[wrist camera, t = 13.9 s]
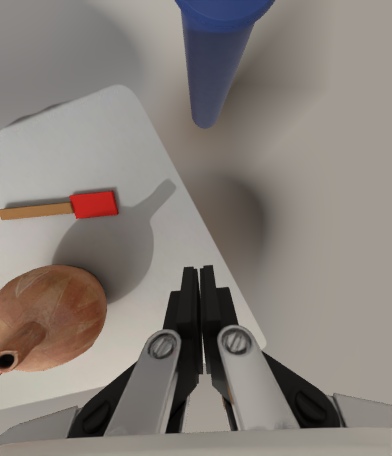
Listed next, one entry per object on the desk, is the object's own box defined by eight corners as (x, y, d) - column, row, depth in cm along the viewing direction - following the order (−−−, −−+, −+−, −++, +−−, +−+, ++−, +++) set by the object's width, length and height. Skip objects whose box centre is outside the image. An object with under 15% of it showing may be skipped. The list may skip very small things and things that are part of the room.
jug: (79, 335, 44) (-11, 458, 25) (18, 283, 40) (-145, 384, 21) (135, 297, 41) (80, 407, 22) (75, 236, 37) (-58, 306, 18)
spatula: (1, 202, 35) (-6, 203, 34) (113, 190, 34) (110, 191, 33) (10, 224, 36) (4, 226, 35) (118, 213, 35) (115, 215, 34)
